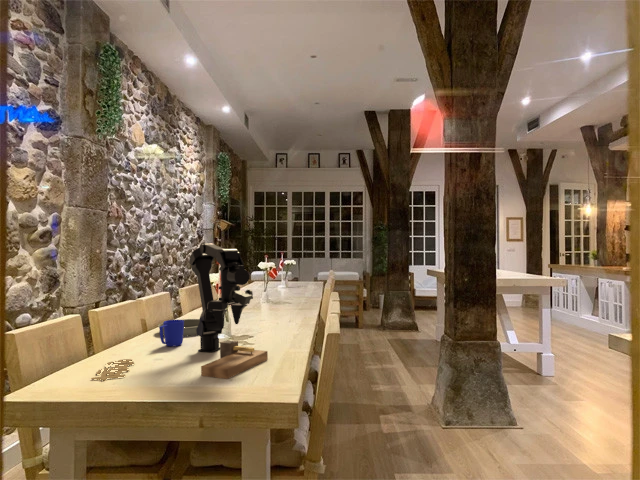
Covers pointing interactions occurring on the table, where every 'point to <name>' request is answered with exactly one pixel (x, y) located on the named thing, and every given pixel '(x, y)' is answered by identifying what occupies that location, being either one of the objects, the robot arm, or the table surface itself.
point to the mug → (172, 332)
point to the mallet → (232, 348)
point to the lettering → (112, 374)
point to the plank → (233, 364)
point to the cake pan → (188, 326)
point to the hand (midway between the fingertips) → (229, 326)
